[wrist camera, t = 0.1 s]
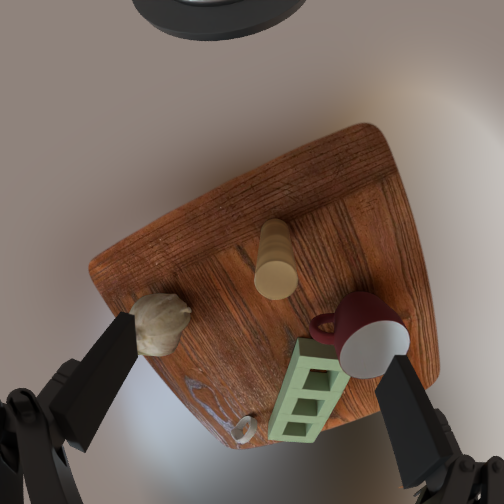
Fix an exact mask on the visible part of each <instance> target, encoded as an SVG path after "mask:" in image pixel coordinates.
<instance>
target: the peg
mask: <svg viewBox="0 0 504 504" xmlns="http://www.w3.org/2000/svg"><path fill="white" fill-rule="evenodd" d="M254 282H255V286H256V288H257V290H258V291H259V293H260V294H262V295H263V296H264V297H266V298H269V299H274V300H279V299H283V298H286V297H288V296H289V295H291V294H292V293H293V292H294V290H295V289H296V287H297V284H298V275H297V270H296V264H295V259H294V254H293V249H292V243H291V238H290V233H289V229H288V226H287V224H286V223H285V222H284V221H282V220H280V219H270V220H268V221H267V222H265V223H264V225H263V226H262V229H261V236H260V243H259V250H258V257H257V264H256V271H255V278H254Z"/></svg>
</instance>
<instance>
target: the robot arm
mask: <svg viewBox="0 0 504 504" xmlns="http://www.w3.org/2000/svg"><path fill="white" fill-rule="evenodd" d="M174 1H176V2H179V3H181V4H185V5H189V6H196V7H216V6H224V5H229V4H234V3H238V2H241V1H244V0H174ZM137 358H138V351H137V340H136V328H135V315H132V314H129V313H125V312H120V313H119V314H118V316H117V317H116V318H115V319H114V321H113V322H112V323H111V324H110V326H109V327H108V328H107V329H106V331H105V332H104V333H103V334H102V336H101V337H100V338H99V339H98V340H97V342H96V343H95V344H94V345H93V347H92V348H91V349H90V350H89V352H88V353H87V354H86V356H85V357H84V358H83V360H82V361H81V362H80V361H77V360H75V359H70V360H68V361H67V362H65V363H63V364H62V365H61V367H60V368H59V369H58V370H57V373H55V374H54V376H53V377H52V379H50V381H49V382H48V383H47V384H46V386H45V387H44V388H43V389H42V391H41V392H40V394H39V395H38V396H37V397H35V395H34V394H33V392H32V391H31V390H28V389H26V388H18V389H15V390H13V391H12V392H11V393H10V394H9V395H8V397H7V401H6V403H7V404H4V403H2V402H1V400H0V504H24V498H23V474H24V478H25V483H26V487H27V491H28V494H29V498H30V501H31V504H83V502H82V499H81V497H80V494H79V492H78V489H77V487H76V484H75V481H74V478H73V475H72V472H71V469H70V466H69V463H68V460H67V456H66V453H65V450H64V447H63V445H62V444H63V443H64V441H65V439H66V440H67V442H68V443H69V445H70V446H72V447H74V448H76V449H78V450H80V451H82V452H84V453H86V450H87V449H88V447H89V445H90V443H91V441H92V439H93V437H94V435H95V434H96V432H97V430H98V428H99V426H100V424H101V422H102V420H103V418H104V417H105V415H106V413H107V411H108V409H109V407H110V406H111V404H112V402H113V400H114V398H115V397H116V395H117V393H118V391H119V389H120V387H121V386H122V384H123V382H124V380H125V379H126V377H127V375H128V373H129V372H130V370H131V368H132V366H133V365H134V363H135V361H136V359H137ZM375 394H376V397H377V400H378V403H379V406H380V409H381V412H382V415H383V418H384V421H385V424H386V428H387V431H388V434H389V437H390V441H391V444H392V447H393V451H394V454H395V457H396V461H397V465H398V469H399V472H400V476H401V480H402V483H403V487H404V489H407V488H412V487H416V486H418V485H420V484H421V483H422V482H423V481H426V484H427V485H425V486H424V487H423V488H422V489H420V490H419V491H418V492H416V493H415V495H414V497H415V496H417V495H418V494H419V493H420V495H419V497H418V499H417V502H416V503H415V504H504V460H503V459H502V458H500V457H499V456H493V457H491V458H490V459H489V460H488V461H487V462H475V460H474V459H473V458H472V457H471V456H469V455H465V454H464V455H463V454H462V452H461V450H460V448H459V445H458V443H457V441H456V439H455V436H454V434H453V432H452V431H451V428H450V426H449V425H448V421H447V419H446V417H445V415H444V414H443V413H442V412H441V411H440V410H439V409H434V408H433V406H432V404H431V402H430V400H429V398H428V396H427V394H426V392H425V390H424V388H423V386H422V384H421V382H420V380H419V378H418V376H417V374H416V372H415V370H414V368H413V366H412V365H411V363H410V361H409V359H408V357H407V355H394V357H393V359H392V361H391V363H390V364H389V366H388V368H387V370H386V372H385V374H384V376H383V377H382V379H381V381H380V383H379V384H378V386H377V388H376V390H375ZM480 493H481V498H480V499H479V500H478V495H479V494H480Z"/></svg>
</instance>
